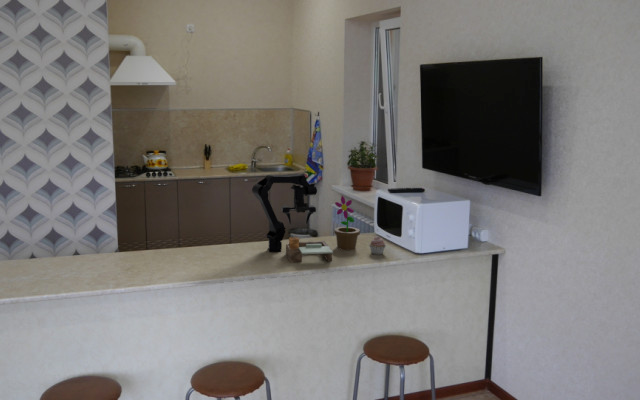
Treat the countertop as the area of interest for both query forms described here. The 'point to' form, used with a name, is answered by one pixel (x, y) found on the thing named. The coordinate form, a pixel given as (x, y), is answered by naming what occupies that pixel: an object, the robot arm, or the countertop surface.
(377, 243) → the cupcake
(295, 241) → the block
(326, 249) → the sliding cover
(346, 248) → the flowerpot
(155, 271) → the countertop surface
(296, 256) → the puzzle board
